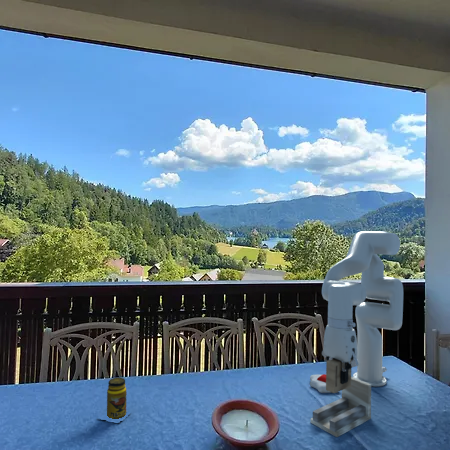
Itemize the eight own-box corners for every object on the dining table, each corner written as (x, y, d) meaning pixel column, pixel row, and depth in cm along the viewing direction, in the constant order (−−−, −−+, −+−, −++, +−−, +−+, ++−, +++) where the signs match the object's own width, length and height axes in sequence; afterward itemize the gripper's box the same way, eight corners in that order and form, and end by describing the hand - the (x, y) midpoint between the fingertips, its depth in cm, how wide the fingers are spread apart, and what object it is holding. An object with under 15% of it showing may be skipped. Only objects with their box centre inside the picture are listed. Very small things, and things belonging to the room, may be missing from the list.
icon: (305, 370, 149) (329, 369, 150) (305, 380, 149) (328, 380, 150) (315, 383, 137) (341, 382, 138) (315, 394, 137) (340, 393, 138)
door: (342, 383, 121) (343, 355, 121) (351, 386, 118) (351, 358, 118) (325, 389, 115) (326, 361, 116) (333, 393, 113) (334, 363, 113)
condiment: (119, 424, 114) (119, 386, 114) (96, 419, 117) (96, 382, 117) (131, 413, 121) (132, 377, 121) (110, 409, 124) (110, 373, 124)
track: (344, 406, 127) (344, 374, 127) (370, 418, 119) (371, 384, 119) (310, 422, 117) (310, 387, 117) (336, 437, 109) (337, 399, 109)
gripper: (369, 327, 113) (369, 387, 113) (326, 316, 126) (325, 370, 126) (355, 330, 109) (354, 393, 108) (312, 319, 122) (311, 375, 121)
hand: (339, 380), depth 117 cm, fingers closed on door, 3 cm apart
